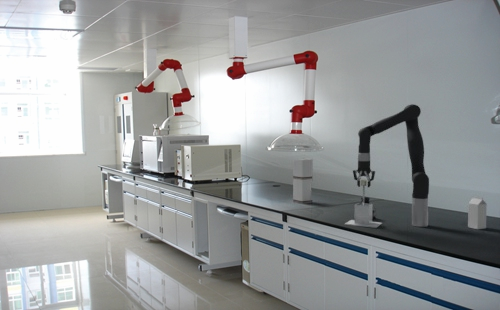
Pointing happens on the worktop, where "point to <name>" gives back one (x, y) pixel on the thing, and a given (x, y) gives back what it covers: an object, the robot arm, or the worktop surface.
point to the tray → (373, 224)
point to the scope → (368, 203)
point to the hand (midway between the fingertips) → (363, 186)
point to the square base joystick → (363, 214)
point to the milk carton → (477, 213)
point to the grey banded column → (302, 180)
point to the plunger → (363, 183)
